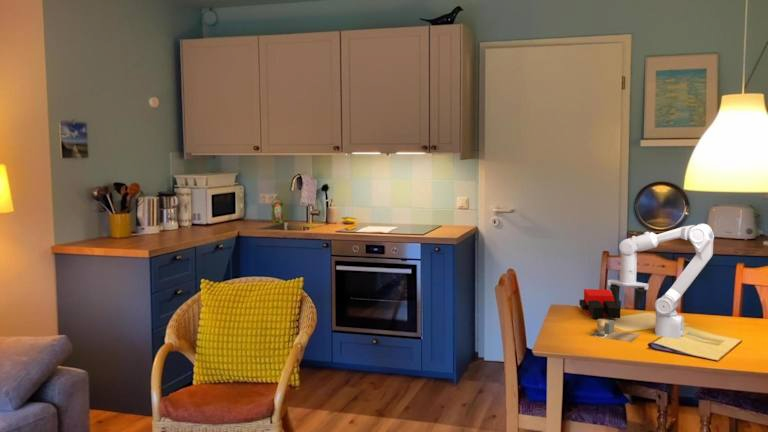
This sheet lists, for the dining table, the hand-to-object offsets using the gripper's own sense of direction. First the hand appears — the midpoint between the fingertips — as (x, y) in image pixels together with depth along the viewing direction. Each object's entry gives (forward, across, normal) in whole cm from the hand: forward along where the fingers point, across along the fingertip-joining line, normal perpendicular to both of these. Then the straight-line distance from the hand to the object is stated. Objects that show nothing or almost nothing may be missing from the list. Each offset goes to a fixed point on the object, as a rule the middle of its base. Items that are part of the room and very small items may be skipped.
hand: (627, 306), depth 266 cm
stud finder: (+9, -5, -9) cm, 13 cm away
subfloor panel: (+10, -1, -11) cm, 15 cm away
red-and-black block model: (+10, -16, +20) cm, 27 cm away
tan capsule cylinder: (+9, -5, -15) cm, 18 cm away
